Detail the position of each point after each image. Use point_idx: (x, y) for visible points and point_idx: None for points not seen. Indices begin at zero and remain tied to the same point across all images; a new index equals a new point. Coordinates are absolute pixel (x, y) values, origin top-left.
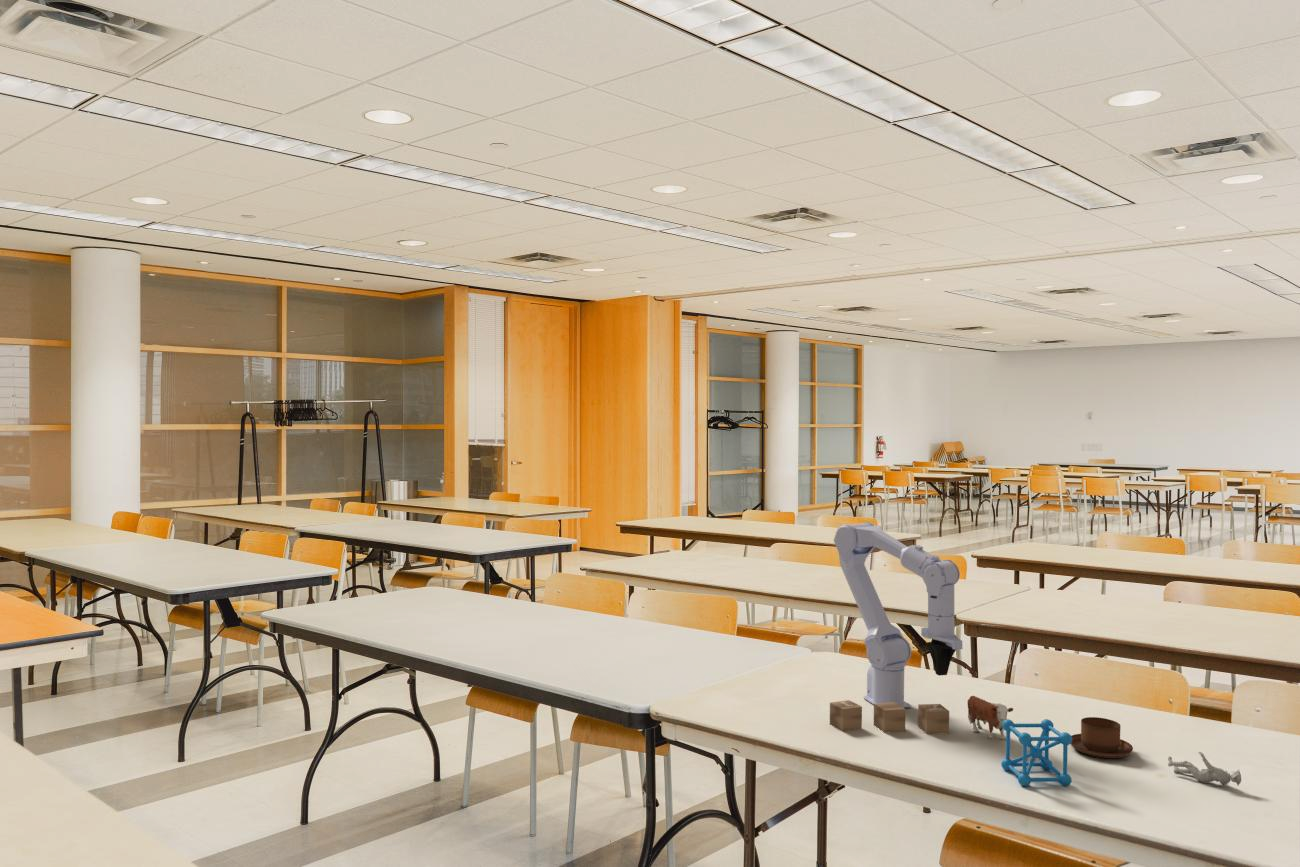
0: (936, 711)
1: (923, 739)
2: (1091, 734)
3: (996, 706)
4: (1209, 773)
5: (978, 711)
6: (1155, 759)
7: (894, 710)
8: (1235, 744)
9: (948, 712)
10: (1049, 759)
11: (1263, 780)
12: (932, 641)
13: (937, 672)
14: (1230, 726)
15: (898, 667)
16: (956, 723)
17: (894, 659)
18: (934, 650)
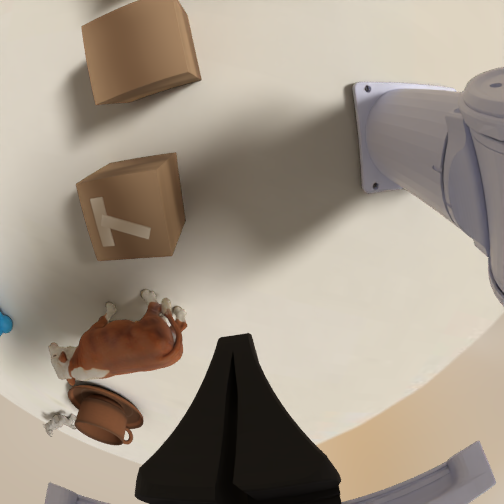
0: (85, 218)
1: (69, 146)
2: (79, 412)
3: (74, 368)
4: (51, 422)
5: (110, 331)
6: None
7: (88, 62)
8: None
9: (98, 256)
10: (3, 332)
11: (87, 440)
12: (317, 499)
13: (223, 344)
14: None
15: (458, 196)
16: (211, 271)
17: (488, 186)
18: (180, 461)
